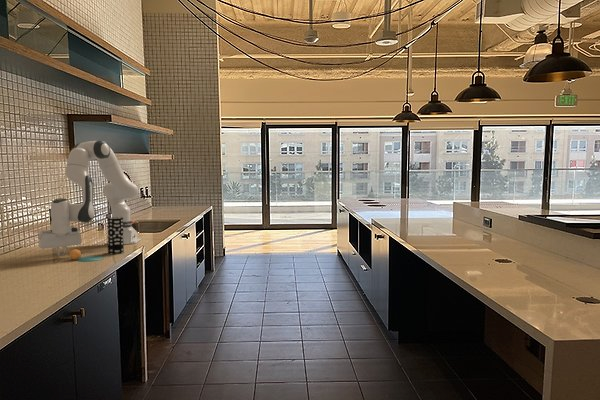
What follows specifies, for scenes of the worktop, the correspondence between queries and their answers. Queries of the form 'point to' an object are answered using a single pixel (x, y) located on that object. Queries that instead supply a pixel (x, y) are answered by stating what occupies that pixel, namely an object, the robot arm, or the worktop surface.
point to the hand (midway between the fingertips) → (61, 254)
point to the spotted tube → (115, 235)
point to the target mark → (89, 258)
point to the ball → (75, 254)
